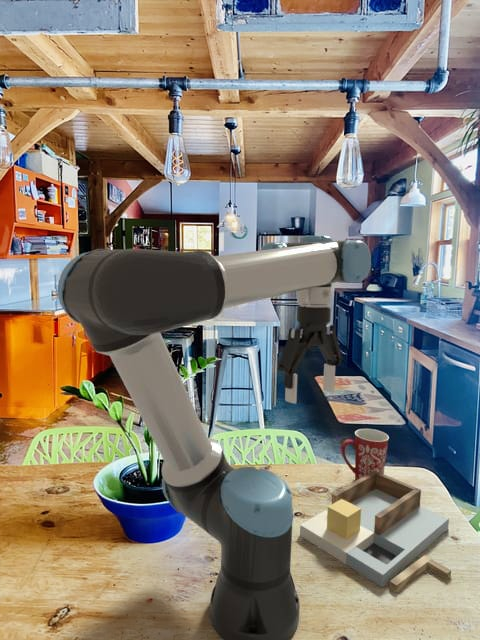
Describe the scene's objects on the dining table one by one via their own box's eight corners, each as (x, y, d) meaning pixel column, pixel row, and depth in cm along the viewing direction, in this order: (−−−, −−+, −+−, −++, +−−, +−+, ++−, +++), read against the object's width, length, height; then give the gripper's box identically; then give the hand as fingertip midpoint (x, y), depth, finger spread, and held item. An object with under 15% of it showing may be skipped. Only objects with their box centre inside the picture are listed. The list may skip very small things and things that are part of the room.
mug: (380, 473, 123) (382, 428, 121) (390, 489, 114) (393, 441, 112) (336, 472, 123) (338, 427, 121) (343, 488, 114) (345, 440, 112)
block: (346, 539, 88) (347, 517, 88) (326, 528, 92) (327, 506, 92) (360, 530, 92) (361, 508, 91) (340, 519, 95) (341, 498, 95)
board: (382, 587, 79) (383, 574, 78) (299, 535, 94) (300, 524, 93) (448, 528, 97) (449, 518, 97) (370, 492, 112) (370, 484, 112)
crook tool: (416, 606, 75) (417, 599, 74) (389, 587, 79) (389, 580, 79) (450, 577, 82) (451, 570, 82) (424, 561, 86) (424, 555, 86)
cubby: (379, 535, 90) (380, 517, 90) (331, 509, 99) (331, 493, 99) (419, 505, 102) (421, 489, 101) (373, 485, 111) (374, 470, 111)
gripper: (288, 309, 86) (285, 411, 88) (359, 304, 102) (355, 390, 105) (262, 306, 91) (260, 402, 94) (333, 302, 108) (330, 384, 110)
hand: (310, 396), depth 99 cm, fingers open, 13 cm apart
